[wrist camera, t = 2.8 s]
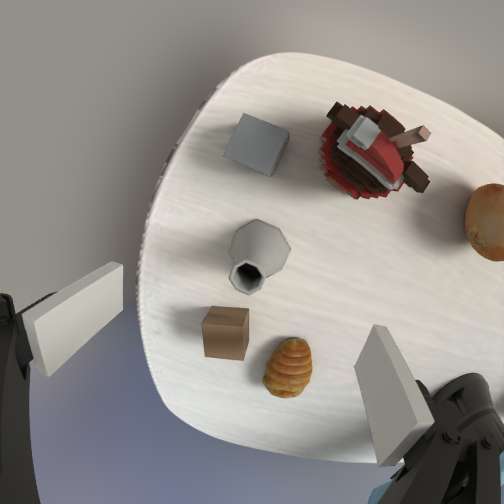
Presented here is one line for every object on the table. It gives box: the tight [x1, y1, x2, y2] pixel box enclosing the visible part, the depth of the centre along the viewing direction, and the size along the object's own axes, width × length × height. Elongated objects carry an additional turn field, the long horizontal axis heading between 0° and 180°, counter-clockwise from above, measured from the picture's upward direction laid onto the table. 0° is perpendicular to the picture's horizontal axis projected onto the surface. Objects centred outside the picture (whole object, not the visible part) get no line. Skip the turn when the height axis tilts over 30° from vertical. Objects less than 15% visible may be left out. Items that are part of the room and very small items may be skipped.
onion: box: [465, 184, 504, 261], centre depth 24 cm, size 10×10×10 cm
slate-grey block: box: [223, 113, 289, 176], centre depth 29 cm, size 5×5×5 cm
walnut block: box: [202, 306, 249, 361], centre depth 35 cm, size 5×5×5 cm
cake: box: [318, 102, 431, 200], centre depth 21 cm, size 11×9×18 cm
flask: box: [229, 219, 291, 295], centre depth 29 cm, size 7×7×10 cm
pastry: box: [262, 338, 312, 398], centre depth 36 cm, size 9×7×4 cm
